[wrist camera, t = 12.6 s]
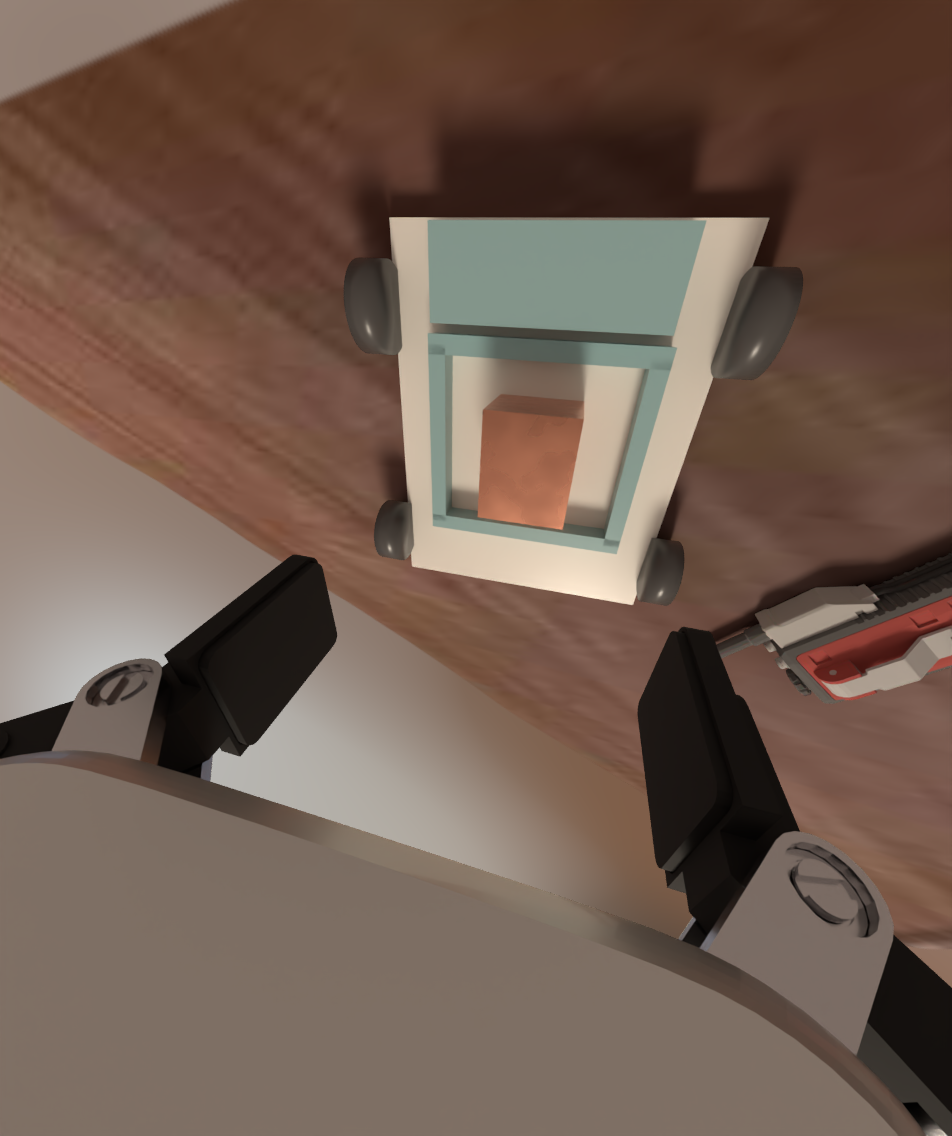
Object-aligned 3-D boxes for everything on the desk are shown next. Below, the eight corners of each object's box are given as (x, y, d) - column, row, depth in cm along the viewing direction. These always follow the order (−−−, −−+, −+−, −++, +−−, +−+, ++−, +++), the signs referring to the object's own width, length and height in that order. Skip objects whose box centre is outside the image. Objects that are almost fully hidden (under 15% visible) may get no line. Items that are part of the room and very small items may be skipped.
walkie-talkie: (968, 506, 22) (657, 654, 32) (1044, 543, 18) (665, 696, 29) (1034, 601, 23) (718, 711, 34) (1115, 652, 20) (734, 757, 31)
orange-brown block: (584, 401, 22) (583, 419, 18) (566, 496, 25) (562, 529, 21) (500, 394, 23) (482, 409, 19) (494, 487, 26) (477, 517, 22)
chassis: (792, 222, 17) (847, 196, 13) (648, 600, 29) (657, 638, 26) (375, 221, 21) (331, 200, 17) (402, 557, 33) (380, 586, 29)
